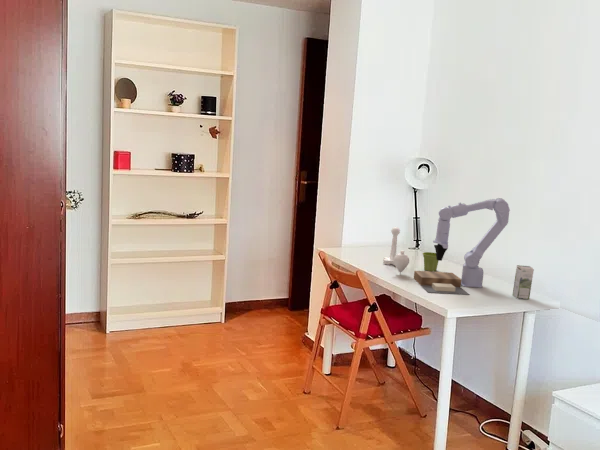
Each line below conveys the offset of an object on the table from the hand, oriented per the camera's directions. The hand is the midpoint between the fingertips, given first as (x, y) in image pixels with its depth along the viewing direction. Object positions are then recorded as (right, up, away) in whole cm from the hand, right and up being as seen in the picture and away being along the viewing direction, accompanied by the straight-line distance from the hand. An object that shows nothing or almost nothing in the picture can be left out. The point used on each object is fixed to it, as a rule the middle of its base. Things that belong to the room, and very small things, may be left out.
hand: (439, 260), depth 299 cm
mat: (-1, -13, -14) cm, 19 cm away
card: (-1, -11, -14) cm, 18 cm away
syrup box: (+33, -16, -17) cm, 41 cm away
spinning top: (-17, -8, +10) cm, 21 cm away
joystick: (-19, -4, +33) cm, 38 cm away
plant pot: (+1, -7, +25) cm, 26 cm away
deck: (-2, -11, -2) cm, 11 cm away
